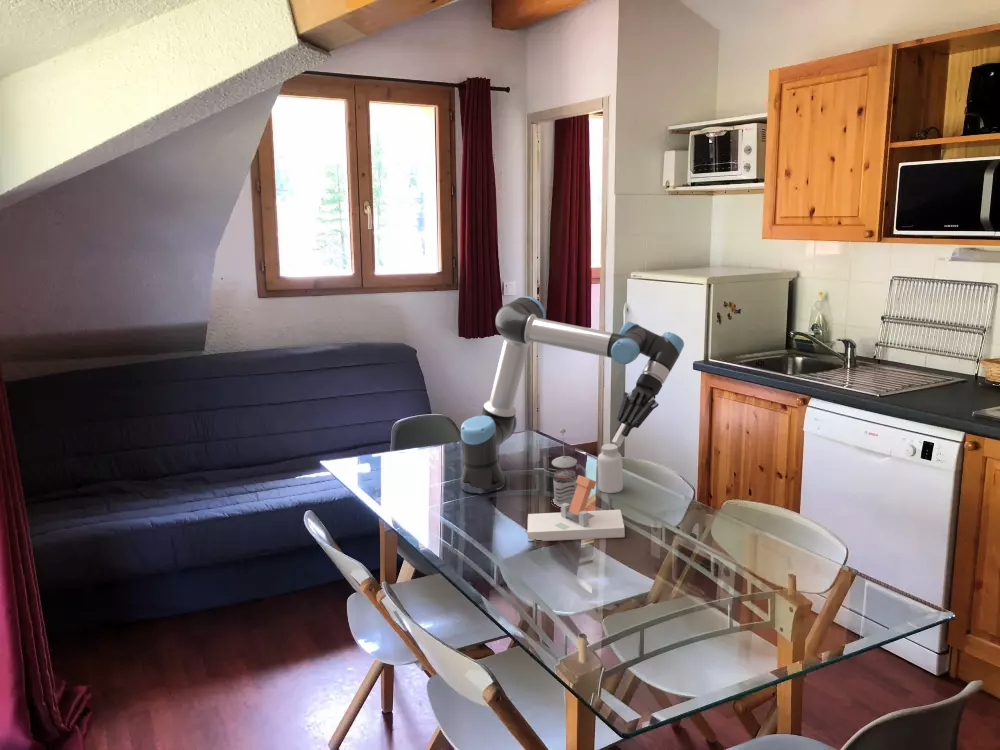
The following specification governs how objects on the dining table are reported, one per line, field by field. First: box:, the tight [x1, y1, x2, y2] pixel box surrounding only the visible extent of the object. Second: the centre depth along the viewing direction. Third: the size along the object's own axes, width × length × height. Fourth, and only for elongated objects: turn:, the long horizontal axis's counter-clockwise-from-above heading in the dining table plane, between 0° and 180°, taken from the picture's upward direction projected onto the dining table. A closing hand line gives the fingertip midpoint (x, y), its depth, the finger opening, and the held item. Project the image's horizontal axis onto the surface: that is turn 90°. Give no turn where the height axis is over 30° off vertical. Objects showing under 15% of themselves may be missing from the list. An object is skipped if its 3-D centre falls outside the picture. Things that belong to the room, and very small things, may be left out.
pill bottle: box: [597, 443, 624, 494], centre depth 262 cm, size 8×8×15 cm
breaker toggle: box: [566, 474, 597, 522], centre depth 237 cm, size 3×5×13 cm, turn 38°
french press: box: [551, 427, 588, 508], centre depth 254 cm, size 10×12×25 cm
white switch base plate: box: [527, 502, 626, 542], centre depth 237 cm, size 28×12×7 cm, turn 87°
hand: (615, 444), depth 242 cm, fingers closed
